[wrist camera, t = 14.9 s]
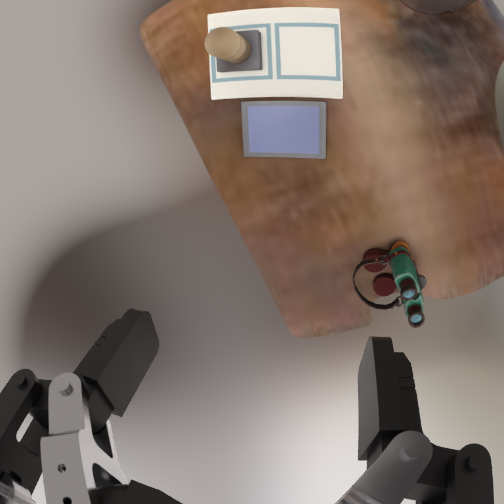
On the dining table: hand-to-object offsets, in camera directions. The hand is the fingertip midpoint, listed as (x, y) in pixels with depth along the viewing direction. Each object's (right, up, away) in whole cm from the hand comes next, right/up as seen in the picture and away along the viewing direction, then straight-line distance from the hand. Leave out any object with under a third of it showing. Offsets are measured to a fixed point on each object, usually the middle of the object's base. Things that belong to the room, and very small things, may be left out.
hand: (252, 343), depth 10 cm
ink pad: (+4, +18, +24) cm, 30 cm away
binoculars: (+19, +1, +31) cm, 36 cm away
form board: (+3, +27, +19) cm, 33 cm away
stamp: (-1, +27, +20) cm, 34 cm away
